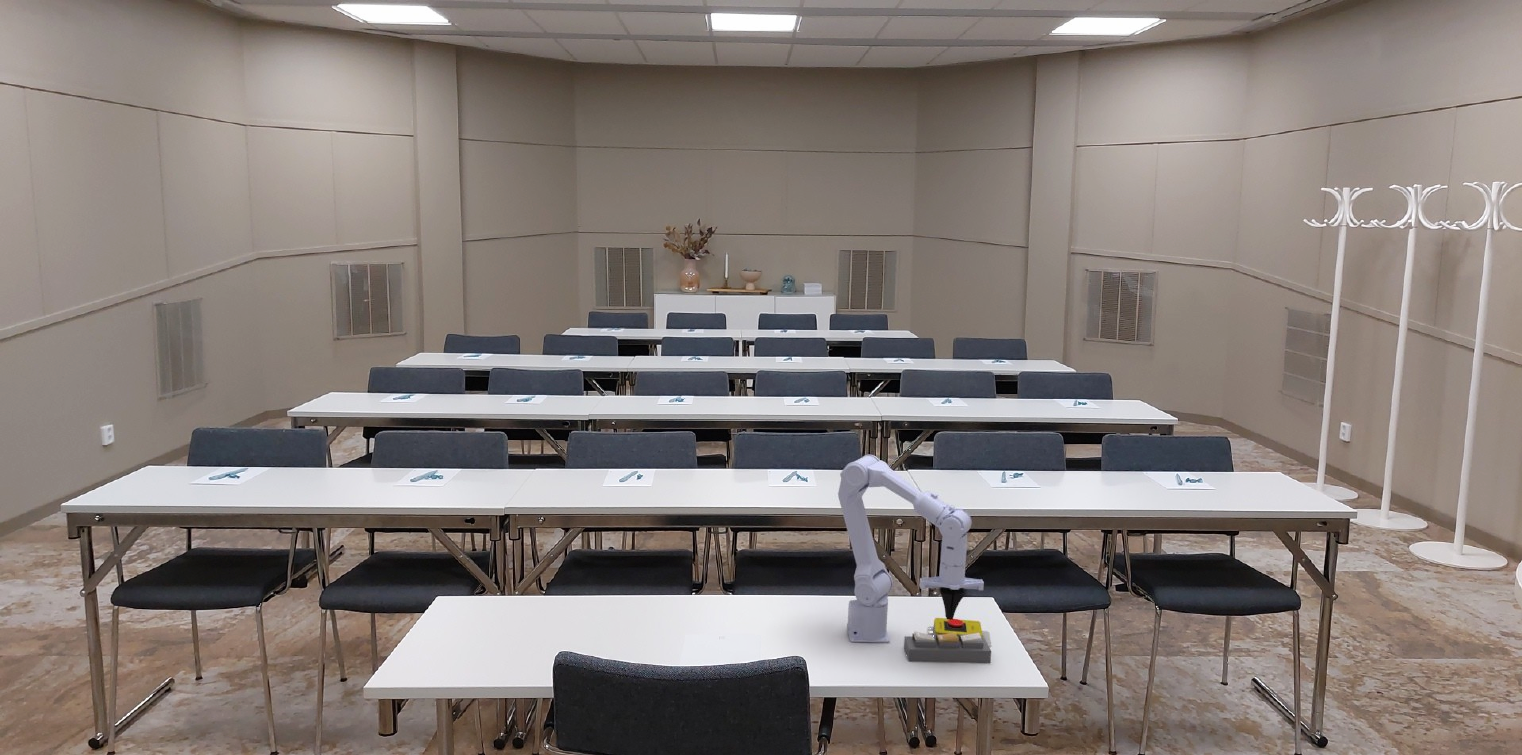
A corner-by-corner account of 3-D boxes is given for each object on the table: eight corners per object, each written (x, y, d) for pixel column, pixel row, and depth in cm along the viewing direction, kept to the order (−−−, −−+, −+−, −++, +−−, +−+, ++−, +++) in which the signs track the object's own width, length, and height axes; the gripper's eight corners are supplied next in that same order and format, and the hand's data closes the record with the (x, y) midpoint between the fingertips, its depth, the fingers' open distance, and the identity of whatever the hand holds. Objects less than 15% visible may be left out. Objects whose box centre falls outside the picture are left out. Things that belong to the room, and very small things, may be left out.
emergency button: (928, 612, 265) (989, 617, 263) (927, 628, 266) (988, 633, 264) (929, 627, 256) (992, 632, 254) (928, 644, 257) (991, 649, 255)
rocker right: (963, 645, 248) (962, 640, 248) (960, 639, 250) (960, 635, 250) (982, 641, 248) (981, 637, 247) (979, 636, 250) (978, 632, 250)
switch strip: (908, 661, 246) (909, 644, 245) (903, 648, 253) (904, 631, 252) (990, 663, 246) (991, 645, 246) (983, 649, 253) (984, 632, 252)
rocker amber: (939, 644, 248) (939, 640, 247) (937, 639, 250) (937, 635, 250) (958, 641, 248) (957, 637, 247) (956, 636, 250) (955, 631, 250)
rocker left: (915, 640, 247) (916, 636, 247) (913, 635, 250) (914, 631, 250) (933, 644, 248) (935, 640, 247) (931, 639, 250) (932, 635, 250)
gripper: (924, 567, 241) (921, 624, 244) (988, 569, 242) (984, 625, 244) (919, 556, 248) (915, 611, 251) (981, 558, 249) (977, 613, 251)
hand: (949, 617), depth 248 cm, fingers closed
